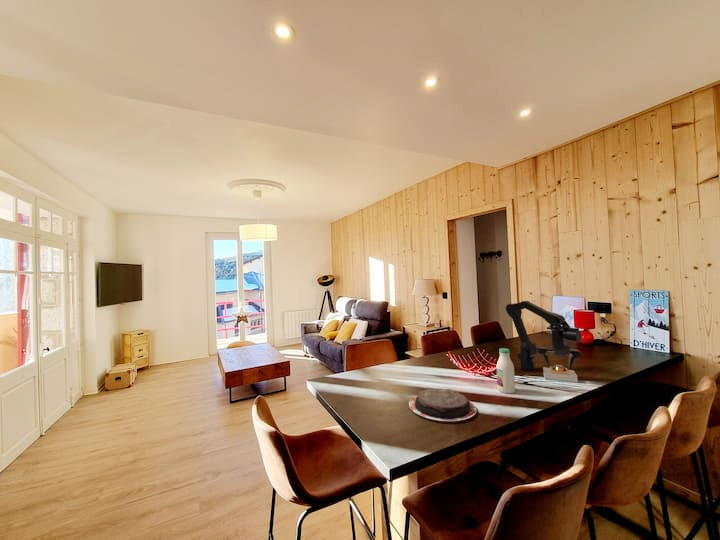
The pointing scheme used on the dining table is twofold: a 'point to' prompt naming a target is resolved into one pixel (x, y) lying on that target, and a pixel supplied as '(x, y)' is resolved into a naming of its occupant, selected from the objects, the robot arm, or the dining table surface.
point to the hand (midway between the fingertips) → (559, 367)
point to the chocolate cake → (442, 406)
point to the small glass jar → (559, 367)
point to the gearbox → (560, 375)
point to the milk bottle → (505, 372)
